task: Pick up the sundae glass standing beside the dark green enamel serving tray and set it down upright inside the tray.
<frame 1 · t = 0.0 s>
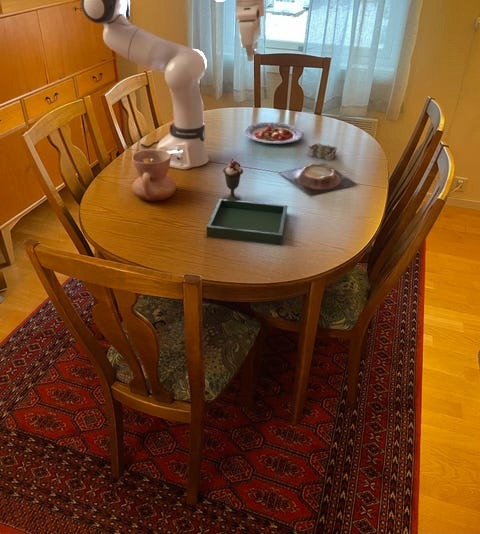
hand: (252, 57, 152), 39 cm above the table, tool pointing down, fingers open, 8 cm apart
sundae: (232, 199, 153), on the table
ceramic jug: (154, 196, 153), on the table
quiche: (317, 179, 168), on the table
ceramic plate: (273, 137, 201), on the table
serving tray: (248, 225, 140), on the table
egg carton: (321, 155, 186), on the table
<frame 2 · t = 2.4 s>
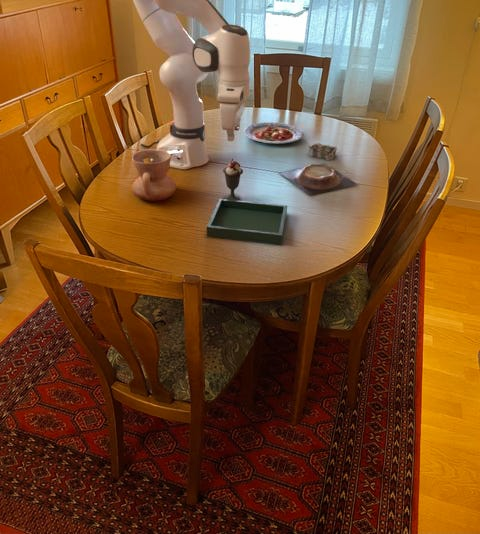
hand: (233, 134, 140), 22 cm above the table, tool pointing down, fingers open, 8 cm apart
nothing on the table moved.
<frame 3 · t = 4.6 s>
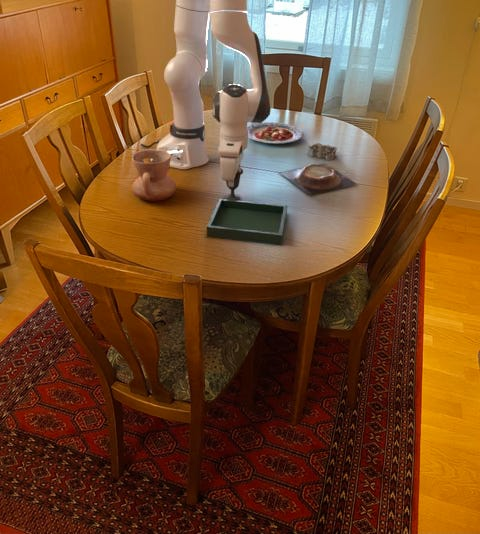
hand: (233, 181, 150), 6 cm above the table, tool pointing down, fingers closed on sundae, 5 cm apart
sundae: (232, 199, 153), on the table, touching gripper
everything else where it was.
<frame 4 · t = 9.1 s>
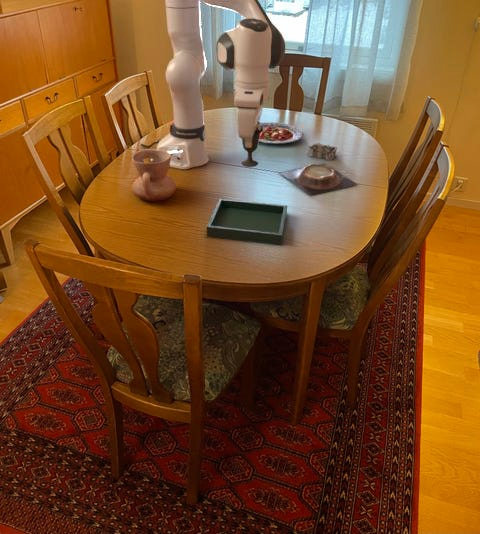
hand: (250, 142, 125), 26 cm above the table, tool pointing down, fingers closed on sundae, 5 cm apart
sundae: (249, 164, 129), point 19 cm above the table, touching gripper
everything else where it was.
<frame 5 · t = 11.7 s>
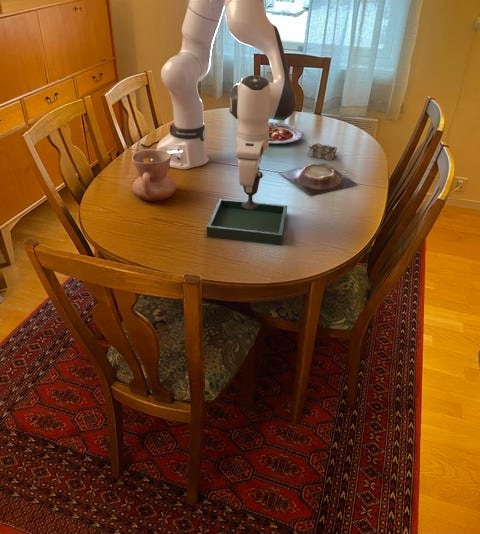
hand: (250, 186, 132), 13 cm above the table, tool pointing down, fingers closed on sundae, 5 cm apart
sundae: (250, 206, 136), point 7 cm above the table, touching gripper
everything else where it was.
when the fingers open (7 cm above the table, at t = 13.6 s): sundae stays where it is, resting on serving tray.
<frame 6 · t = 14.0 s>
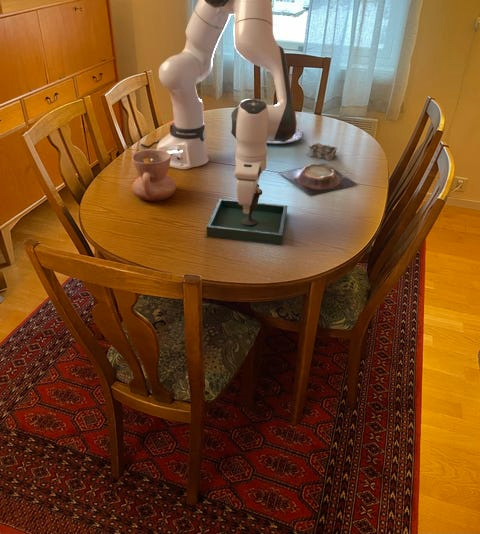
hand: (249, 204, 135), 7 cm above the table, tool pointing down, fingers open, 8 cm apart
sundae: (249, 222, 139), point 1 cm above the table, touching gripper, serving tray
everything else where it was.
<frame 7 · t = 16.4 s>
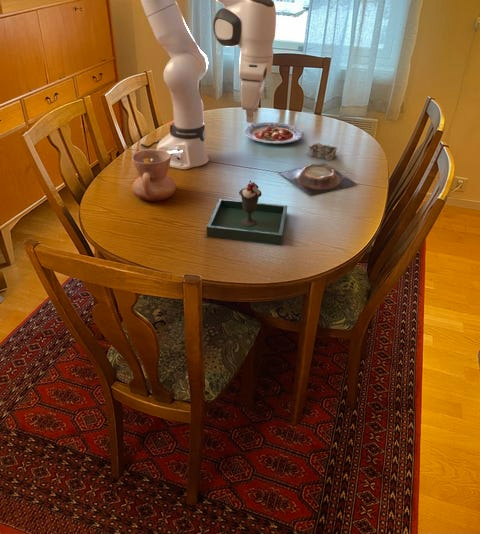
hand: (252, 116, 131), 30 cm above the table, tool pointing down, fingers open, 8 cm apart
sundae: (248, 223, 139), point 1 cm above the table, touching serving tray
everything else where it was.
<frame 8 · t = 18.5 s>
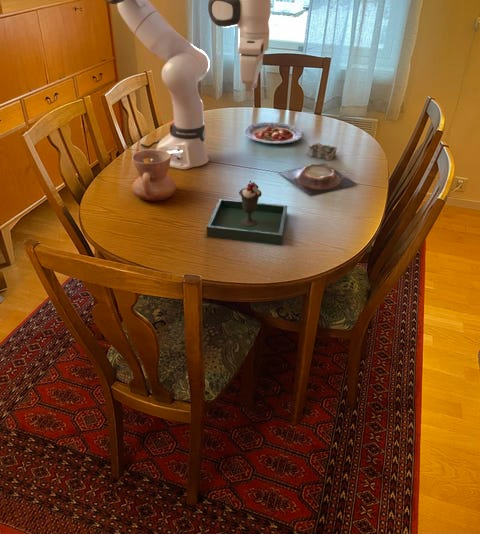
hand: (251, 91, 140), 33 cm above the table, tool pointing down, fingers open, 8 cm apart
nothing on the table moved.
at the end: sundae inside the target area in the serving tray (0.2 cm from its centre), point 0.6 cm above the serving tray's base; sundae tilted 0°; the gripper is holding nothing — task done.
